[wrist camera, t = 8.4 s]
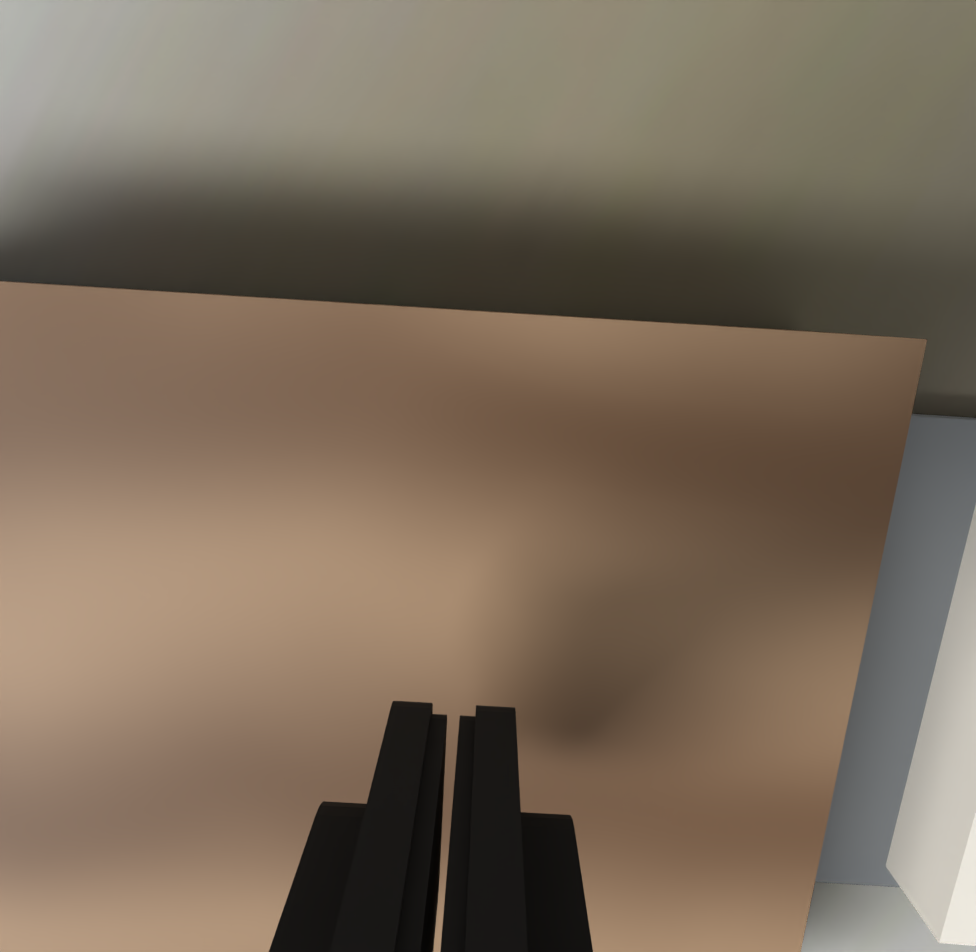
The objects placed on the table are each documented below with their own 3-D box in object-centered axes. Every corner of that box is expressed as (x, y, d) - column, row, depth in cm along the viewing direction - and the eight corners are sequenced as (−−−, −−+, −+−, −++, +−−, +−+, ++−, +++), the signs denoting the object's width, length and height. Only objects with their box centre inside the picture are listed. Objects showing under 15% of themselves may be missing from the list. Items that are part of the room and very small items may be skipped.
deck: (-109, 273, 14) (-353, 259, 10) (804, 331, 14) (926, 339, 10) (-17, 935, 17) (-166, 1114, 13) (697, 979, 17) (754, 1172, 13)
